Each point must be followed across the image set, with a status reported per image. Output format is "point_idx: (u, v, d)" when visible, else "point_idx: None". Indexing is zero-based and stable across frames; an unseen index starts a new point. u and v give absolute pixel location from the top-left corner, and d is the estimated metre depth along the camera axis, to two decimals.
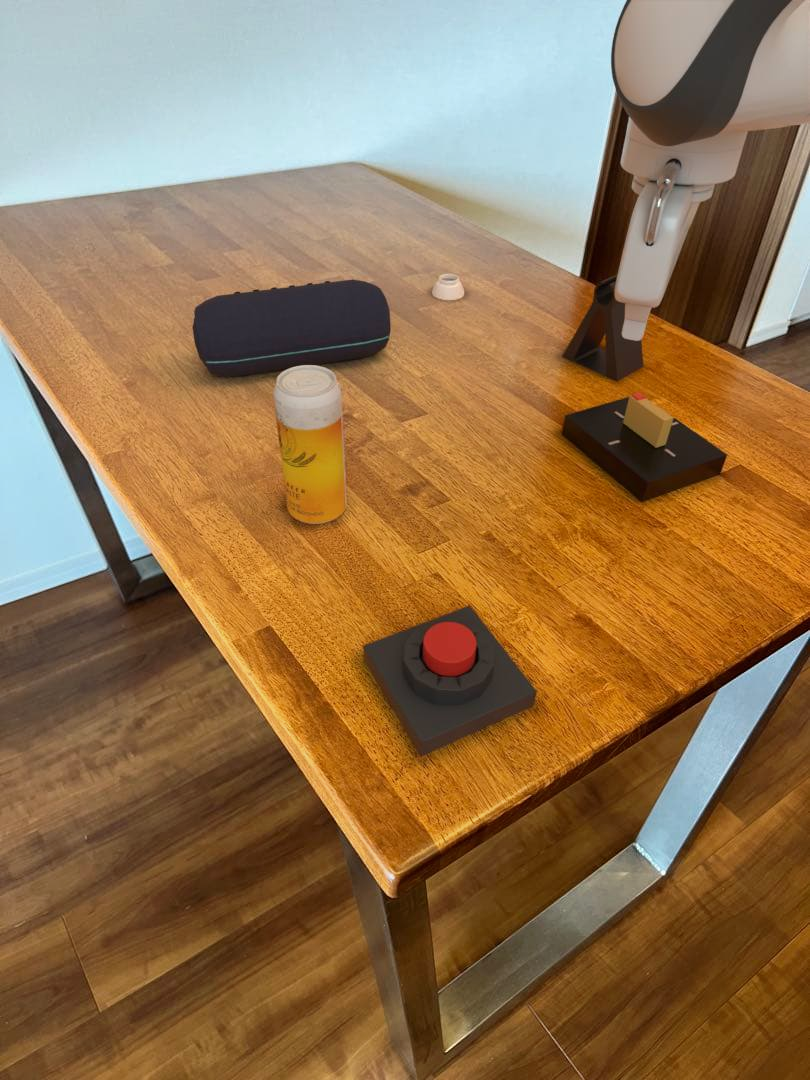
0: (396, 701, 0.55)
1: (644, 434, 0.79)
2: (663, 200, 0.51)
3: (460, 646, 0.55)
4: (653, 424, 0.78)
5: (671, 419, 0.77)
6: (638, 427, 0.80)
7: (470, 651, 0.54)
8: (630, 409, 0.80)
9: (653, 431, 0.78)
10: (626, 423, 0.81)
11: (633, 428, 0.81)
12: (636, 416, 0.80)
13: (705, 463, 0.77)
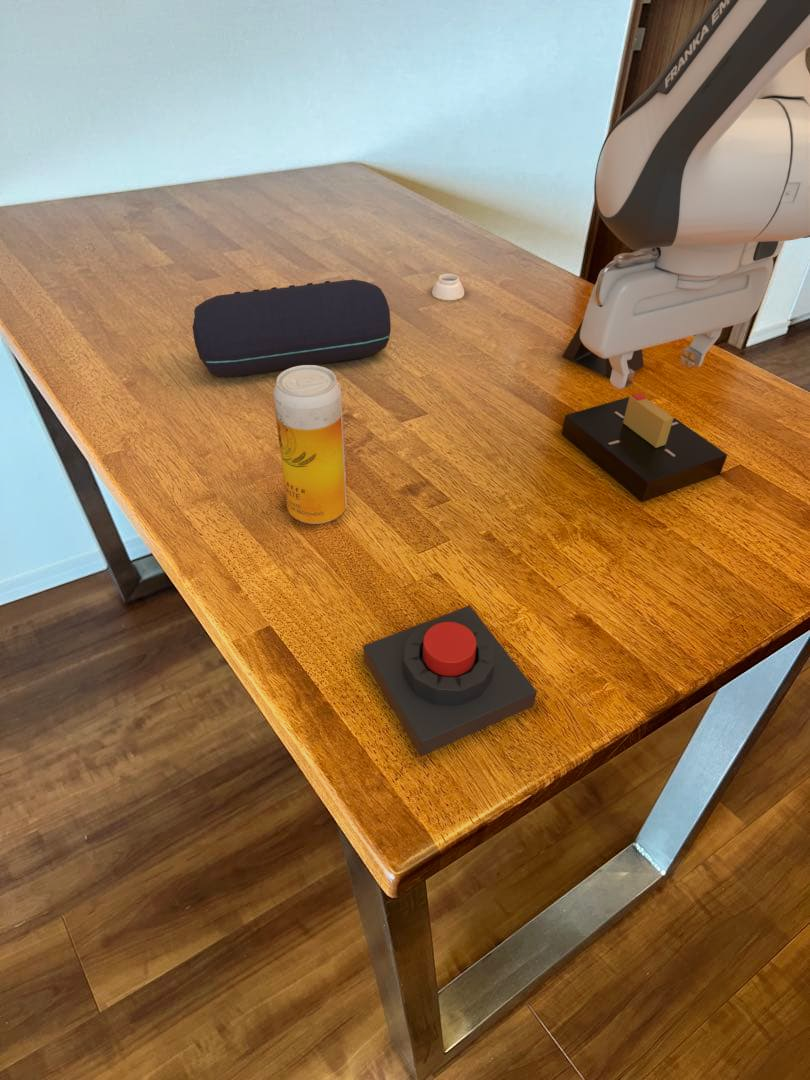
0: (396, 701, 0.55)
1: (644, 434, 0.79)
2: (606, 272, 0.64)
3: (460, 646, 0.55)
4: (653, 424, 0.78)
5: (671, 419, 0.77)
6: (638, 427, 0.80)
7: (470, 651, 0.54)
8: (630, 409, 0.80)
9: (653, 431, 0.78)
10: (626, 423, 0.81)
11: (633, 428, 0.81)
12: (636, 416, 0.80)
13: (705, 463, 0.77)
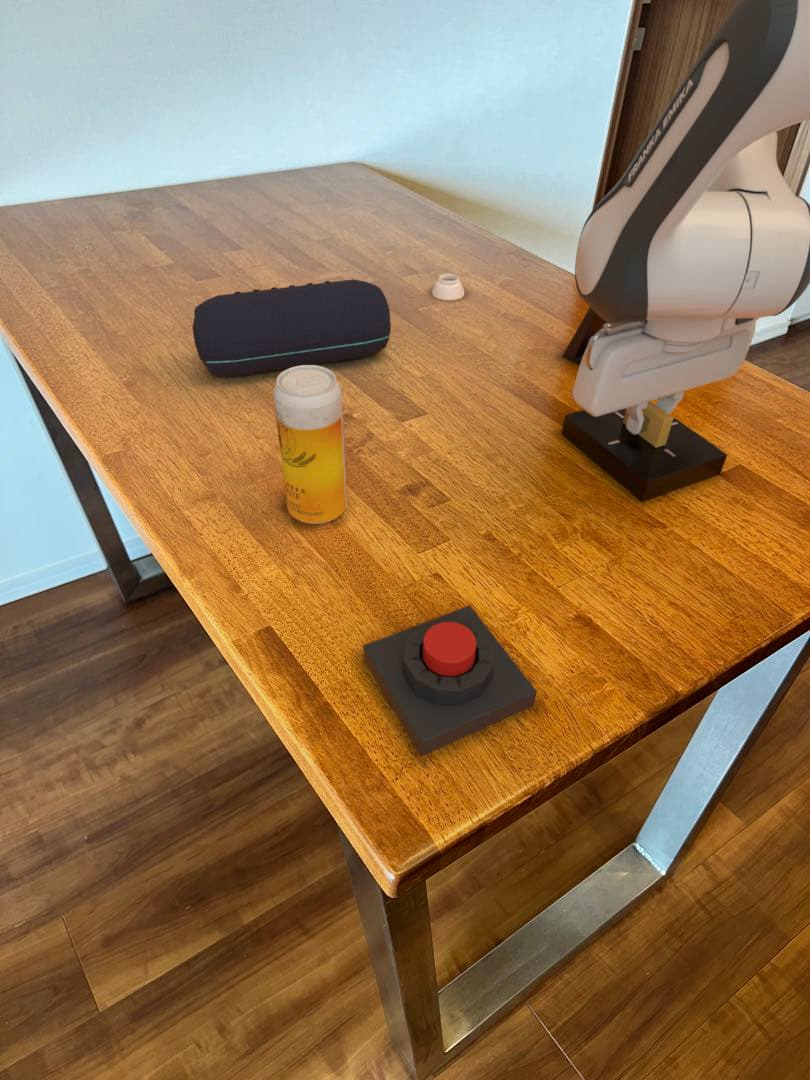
0: (396, 701, 0.55)
1: (644, 434, 0.79)
2: (595, 340, 0.68)
3: (460, 646, 0.55)
4: (653, 424, 0.78)
5: (671, 419, 0.77)
6: None
7: (470, 651, 0.54)
8: None
9: (653, 431, 0.78)
10: None
11: None
12: None
13: (705, 463, 0.77)
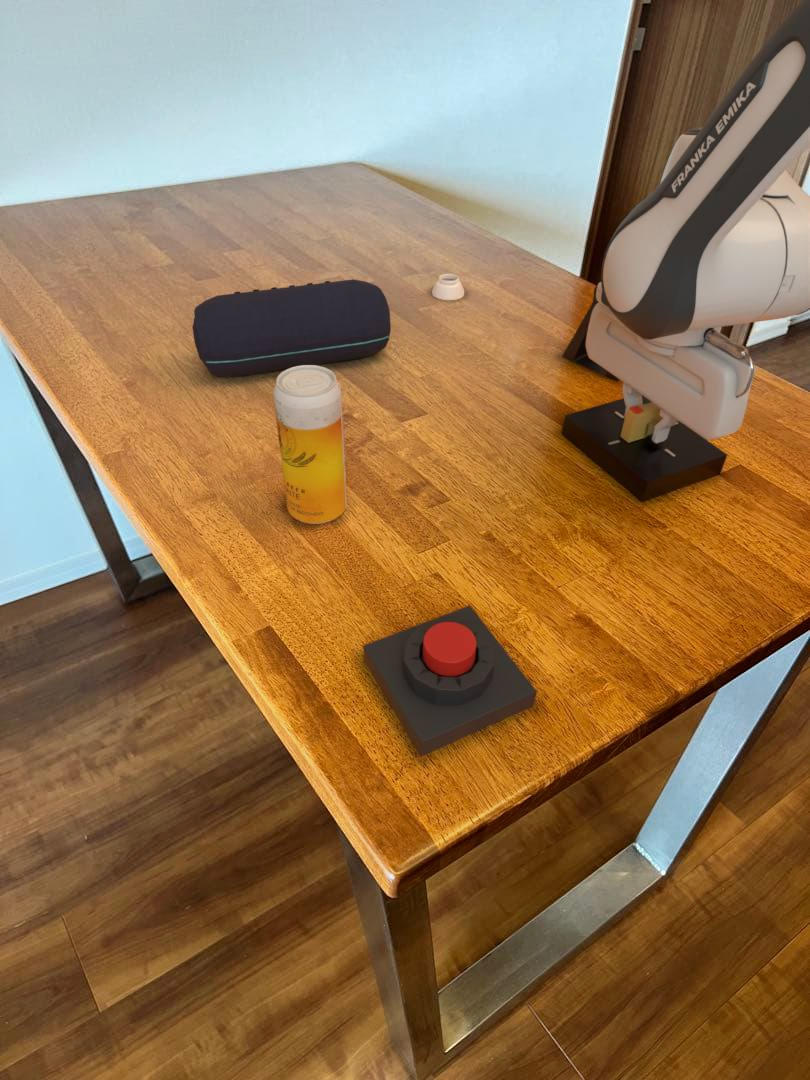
0: (396, 701, 0.55)
1: None
2: (754, 366, 0.65)
3: (460, 646, 0.55)
4: None
5: None
6: (647, 431, 0.79)
7: (470, 651, 0.54)
8: (637, 425, 0.78)
9: None
10: (632, 439, 0.79)
11: (641, 436, 0.79)
12: (644, 424, 0.78)
13: (705, 463, 0.77)
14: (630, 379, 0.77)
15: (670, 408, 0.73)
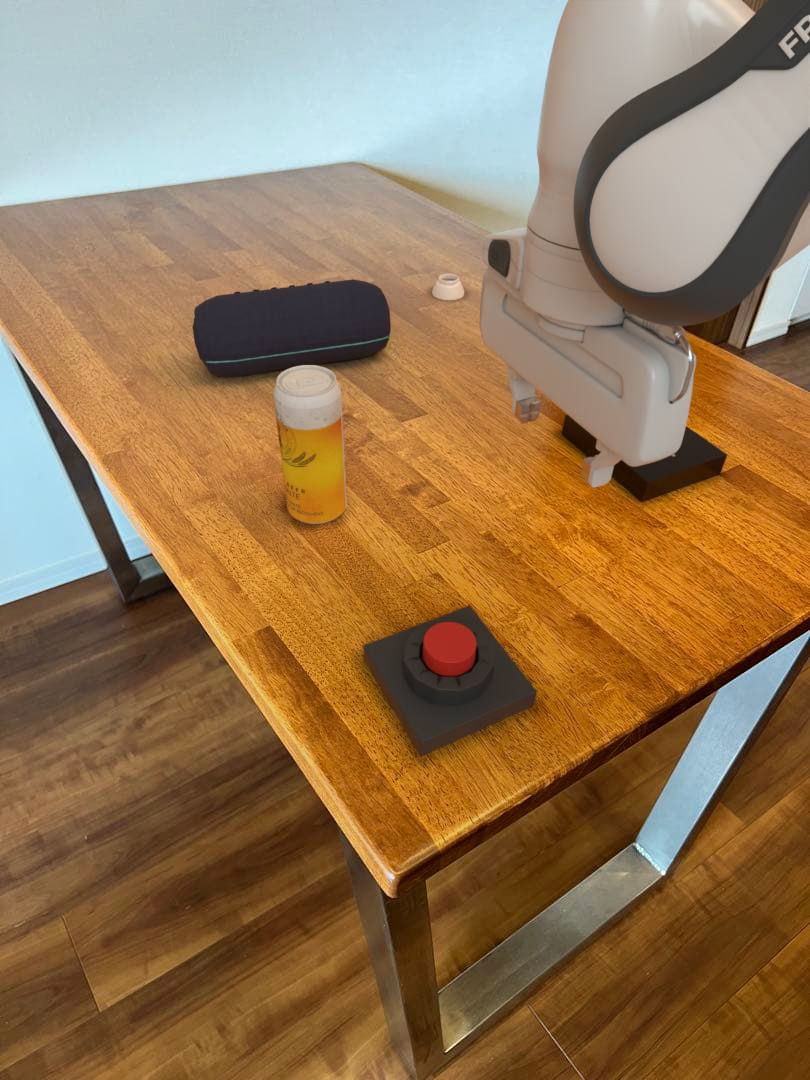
0: (396, 701, 0.55)
1: None
2: (694, 355, 0.42)
3: (460, 646, 0.55)
4: None
5: None
6: None
7: (470, 651, 0.54)
8: None
9: None
10: None
11: None
12: None
13: (705, 463, 0.77)
14: (532, 376, 0.54)
15: (581, 418, 0.50)
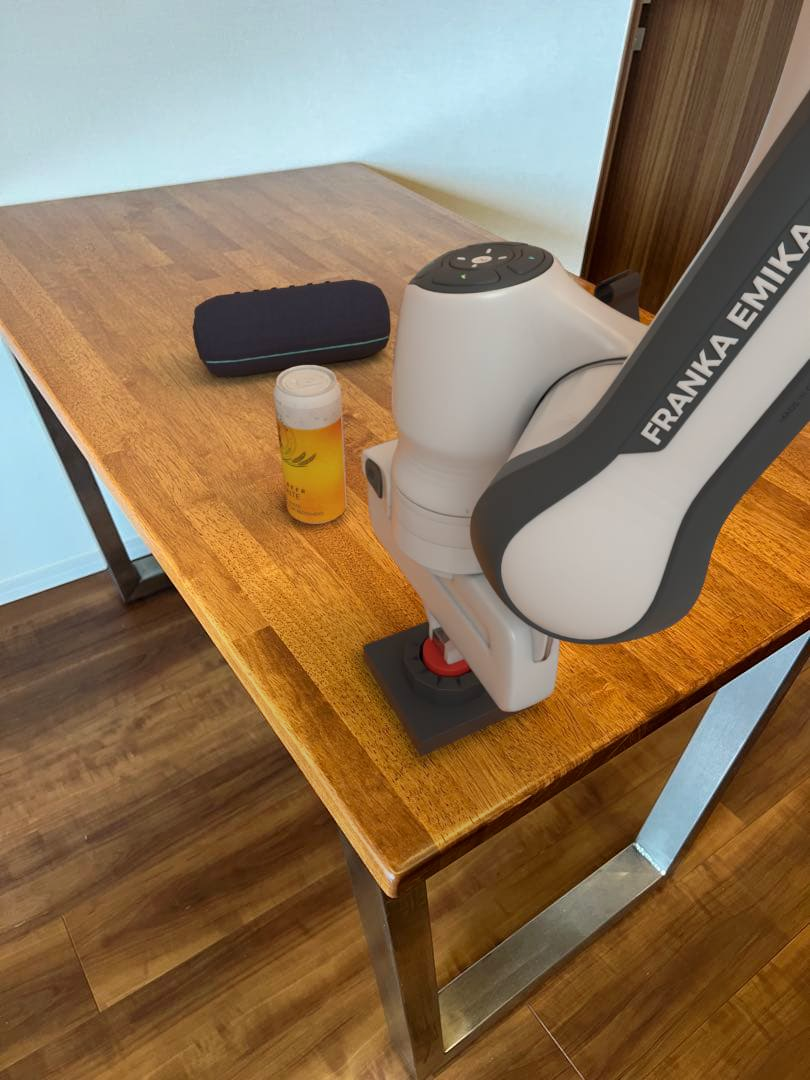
0: (396, 701, 0.55)
1: None
2: None
3: None
4: None
5: None
6: None
7: None
8: None
9: None
10: None
11: None
12: None
13: None
14: (416, 586, 0.53)
15: (458, 647, 0.49)
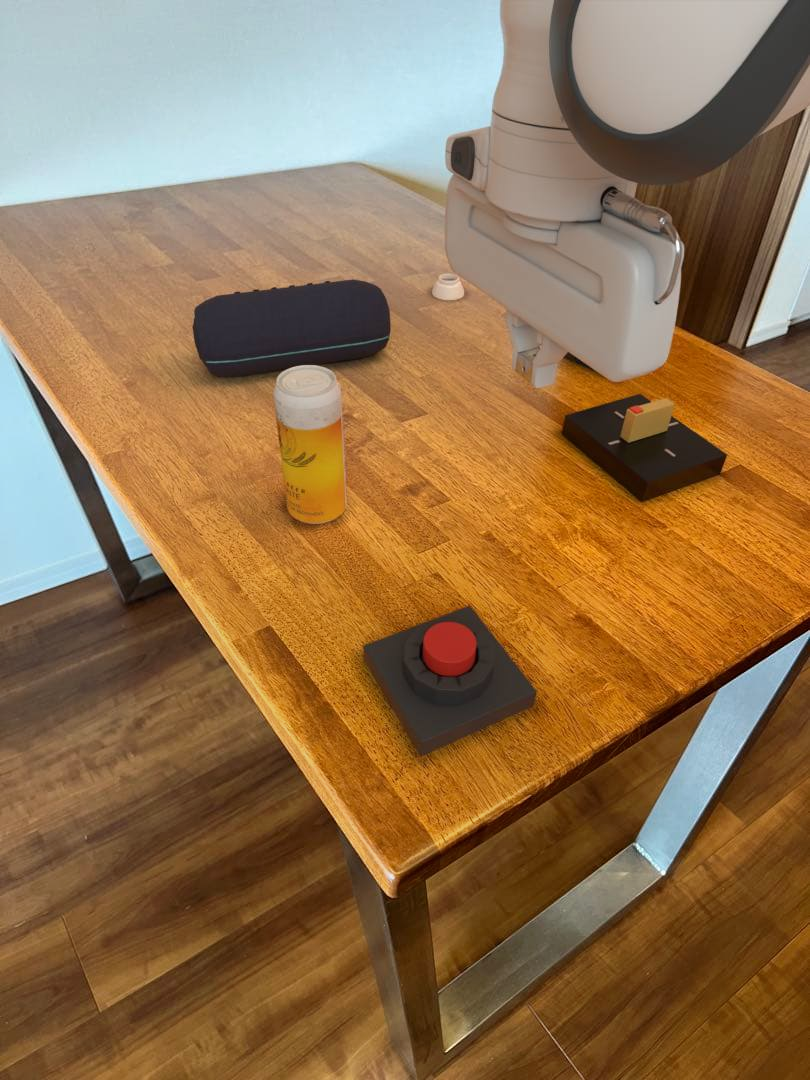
0: (396, 701, 0.55)
1: (654, 431, 0.80)
2: (682, 244, 0.37)
3: (460, 646, 0.55)
4: (664, 415, 0.79)
5: None
6: (647, 431, 0.79)
7: (470, 651, 0.54)
8: (637, 425, 0.78)
9: (664, 420, 0.80)
10: (632, 439, 0.79)
11: (641, 436, 0.79)
12: (644, 424, 0.78)
13: (705, 463, 0.77)
14: (503, 294, 0.49)
15: (557, 334, 0.45)
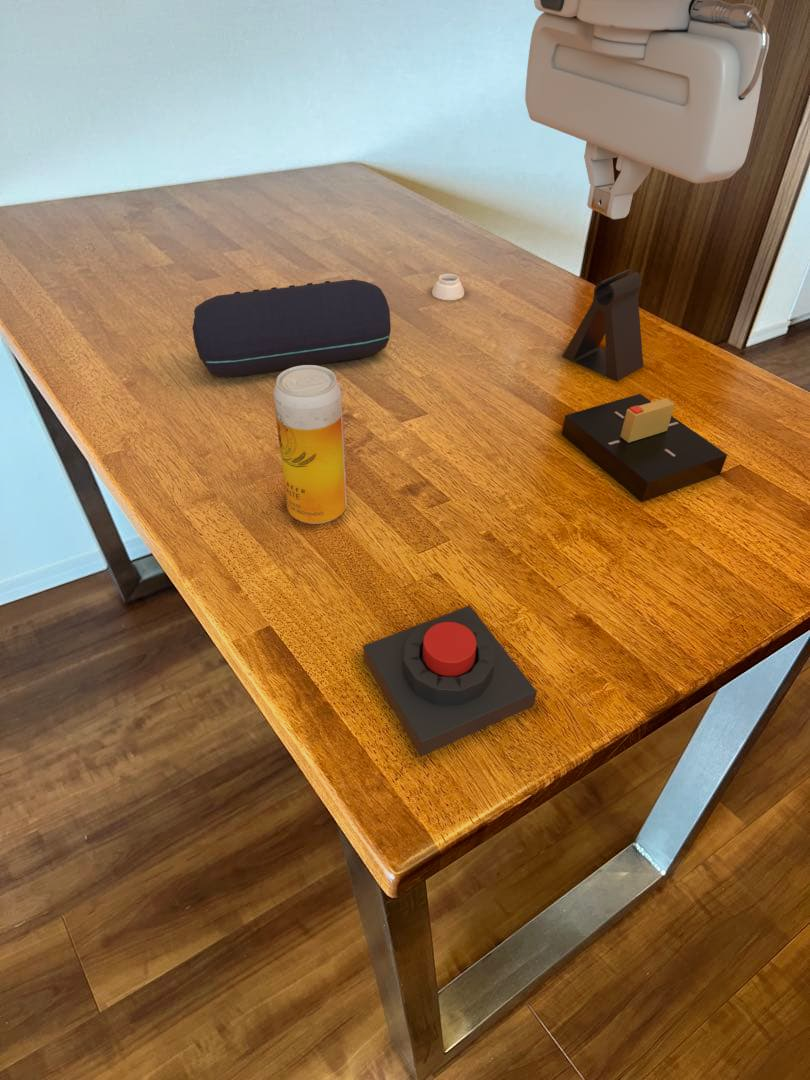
0: (396, 701, 0.55)
1: (654, 431, 0.80)
2: (767, 34, 0.41)
3: (460, 646, 0.55)
4: (664, 415, 0.79)
5: None
6: (647, 431, 0.79)
7: (470, 651, 0.54)
8: (637, 425, 0.78)
9: (664, 420, 0.80)
10: (632, 439, 0.79)
11: (641, 436, 0.79)
12: (644, 424, 0.78)
13: (705, 463, 0.77)
14: (585, 126, 0.53)
15: (640, 150, 0.49)
